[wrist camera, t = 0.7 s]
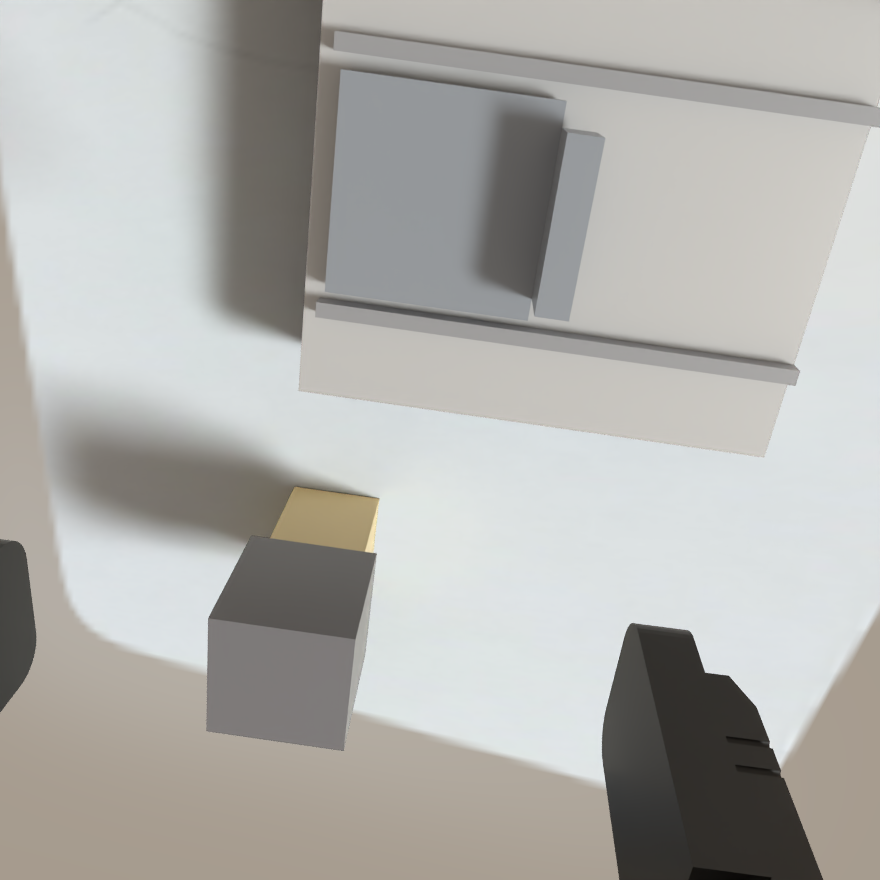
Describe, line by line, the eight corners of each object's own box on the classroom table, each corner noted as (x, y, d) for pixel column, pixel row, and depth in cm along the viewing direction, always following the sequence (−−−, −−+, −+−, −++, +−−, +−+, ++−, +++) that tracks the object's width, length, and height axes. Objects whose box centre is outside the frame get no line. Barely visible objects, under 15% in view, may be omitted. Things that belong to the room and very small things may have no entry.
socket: (354, -64, 27) (324, -91, 22) (848, 6, 27) (923, -7, 22) (323, 350, 32) (294, 397, 28) (730, 408, 32) (769, 465, 28)
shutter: (344, 69, 24) (327, 69, 21) (599, 105, 24) (611, 109, 21) (328, 287, 26) (311, 308, 24) (558, 319, 26) (564, 344, 24)
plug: (283, 474, 35) (208, 618, 26) (392, 490, 35) (355, 639, 26) (278, 566, 37) (206, 731, 28) (381, 581, 37) (343, 750, 28)
